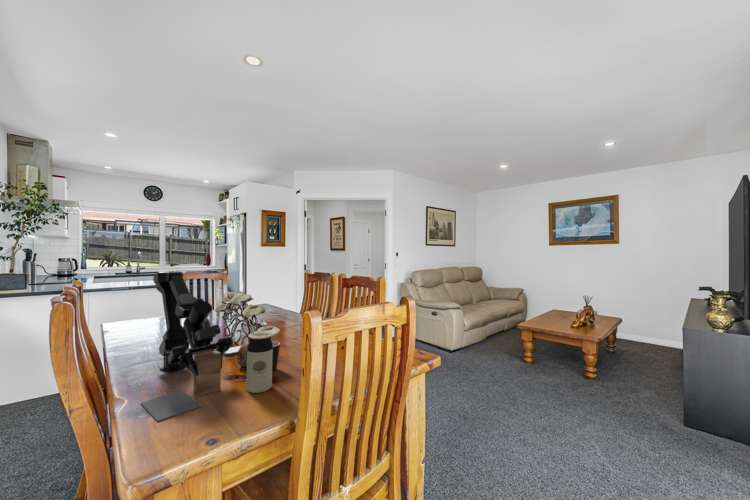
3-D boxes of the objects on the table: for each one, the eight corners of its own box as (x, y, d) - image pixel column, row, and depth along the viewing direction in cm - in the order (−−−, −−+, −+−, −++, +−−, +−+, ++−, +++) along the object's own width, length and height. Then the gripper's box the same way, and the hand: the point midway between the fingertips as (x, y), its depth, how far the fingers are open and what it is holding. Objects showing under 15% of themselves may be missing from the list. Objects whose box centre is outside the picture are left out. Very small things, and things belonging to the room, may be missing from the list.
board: (193, 393, 101) (194, 355, 101) (215, 386, 106) (216, 350, 106) (197, 396, 98) (198, 358, 98) (220, 389, 104) (221, 353, 104)
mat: (140, 404, 93) (140, 402, 93) (181, 391, 101) (181, 390, 101) (157, 422, 83) (157, 420, 83) (201, 406, 92) (201, 405, 92)
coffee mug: (284, 367, 124) (284, 342, 124) (269, 375, 116) (270, 348, 116) (259, 364, 128) (260, 339, 128) (244, 371, 119) (245, 345, 119)
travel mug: (251, 383, 109) (252, 331, 109) (274, 383, 109) (275, 331, 109) (242, 393, 101) (244, 337, 101) (268, 393, 101) (269, 337, 101)
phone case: (253, 346, 153) (218, 352, 142) (253, 343, 153) (219, 349, 142) (261, 350, 147) (225, 357, 135) (261, 347, 147) (226, 354, 135)
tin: (242, 369, 121) (242, 348, 121) (235, 369, 122) (235, 347, 122) (263, 357, 136) (264, 337, 136) (257, 356, 137) (257, 337, 137)
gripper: (171, 322, 98) (184, 366, 91) (231, 313, 112) (246, 351, 105) (162, 342, 103) (174, 386, 96) (220, 332, 117) (234, 369, 110)
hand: (209, 371), depth 101 cm, fingers closed on board, 7 cm apart
